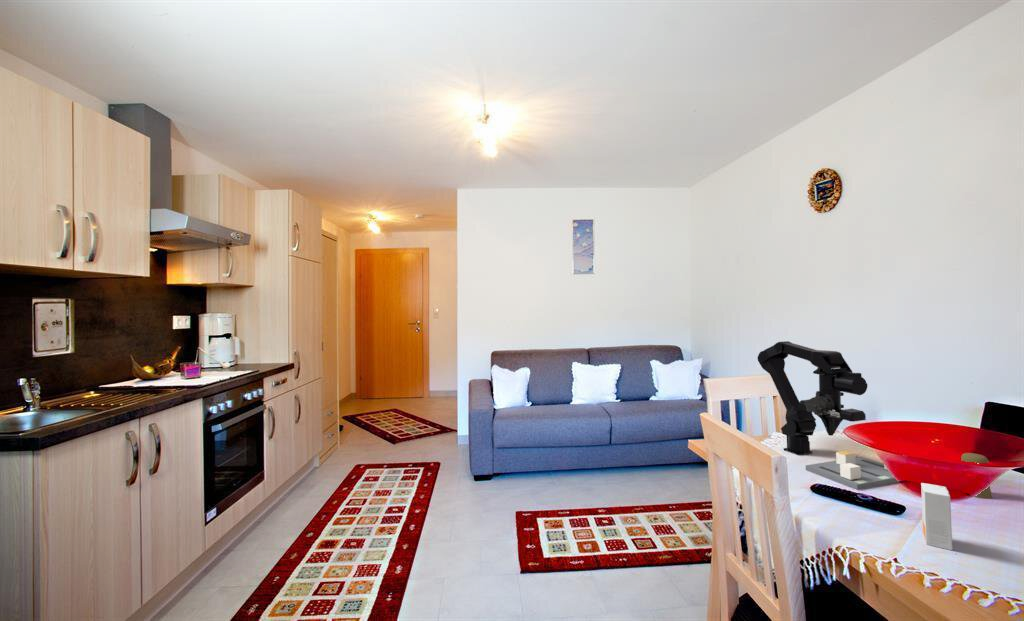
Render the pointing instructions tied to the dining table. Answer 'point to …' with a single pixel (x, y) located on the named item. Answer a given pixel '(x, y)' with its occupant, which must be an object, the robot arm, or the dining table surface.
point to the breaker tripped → (845, 457)
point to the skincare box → (936, 516)
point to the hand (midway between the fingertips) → (830, 435)
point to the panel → (870, 473)
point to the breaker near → (850, 471)
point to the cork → (978, 459)
